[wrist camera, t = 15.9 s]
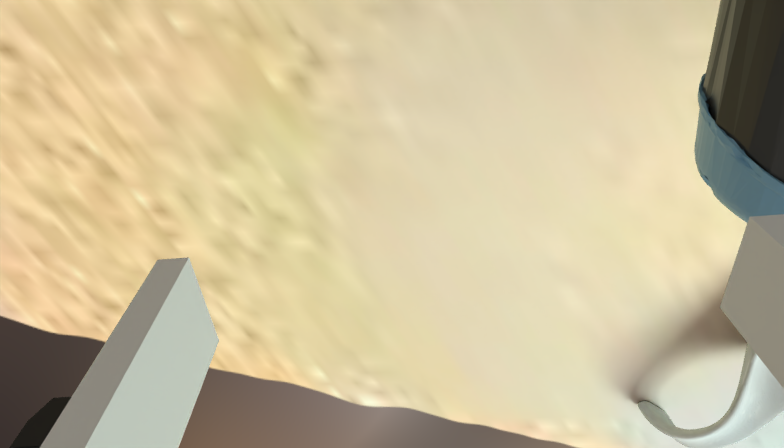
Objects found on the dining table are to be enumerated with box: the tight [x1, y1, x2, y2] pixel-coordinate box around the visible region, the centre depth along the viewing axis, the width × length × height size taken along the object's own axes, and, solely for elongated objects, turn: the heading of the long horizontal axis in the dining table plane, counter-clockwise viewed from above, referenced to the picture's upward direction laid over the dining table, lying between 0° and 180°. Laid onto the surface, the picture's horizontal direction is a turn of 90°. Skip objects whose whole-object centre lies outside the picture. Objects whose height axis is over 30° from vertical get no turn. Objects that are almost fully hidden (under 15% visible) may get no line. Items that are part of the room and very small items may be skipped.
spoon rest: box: [638, 343, 784, 448], centre depth 52 cm, size 24×12×7 cm, turn 144°
